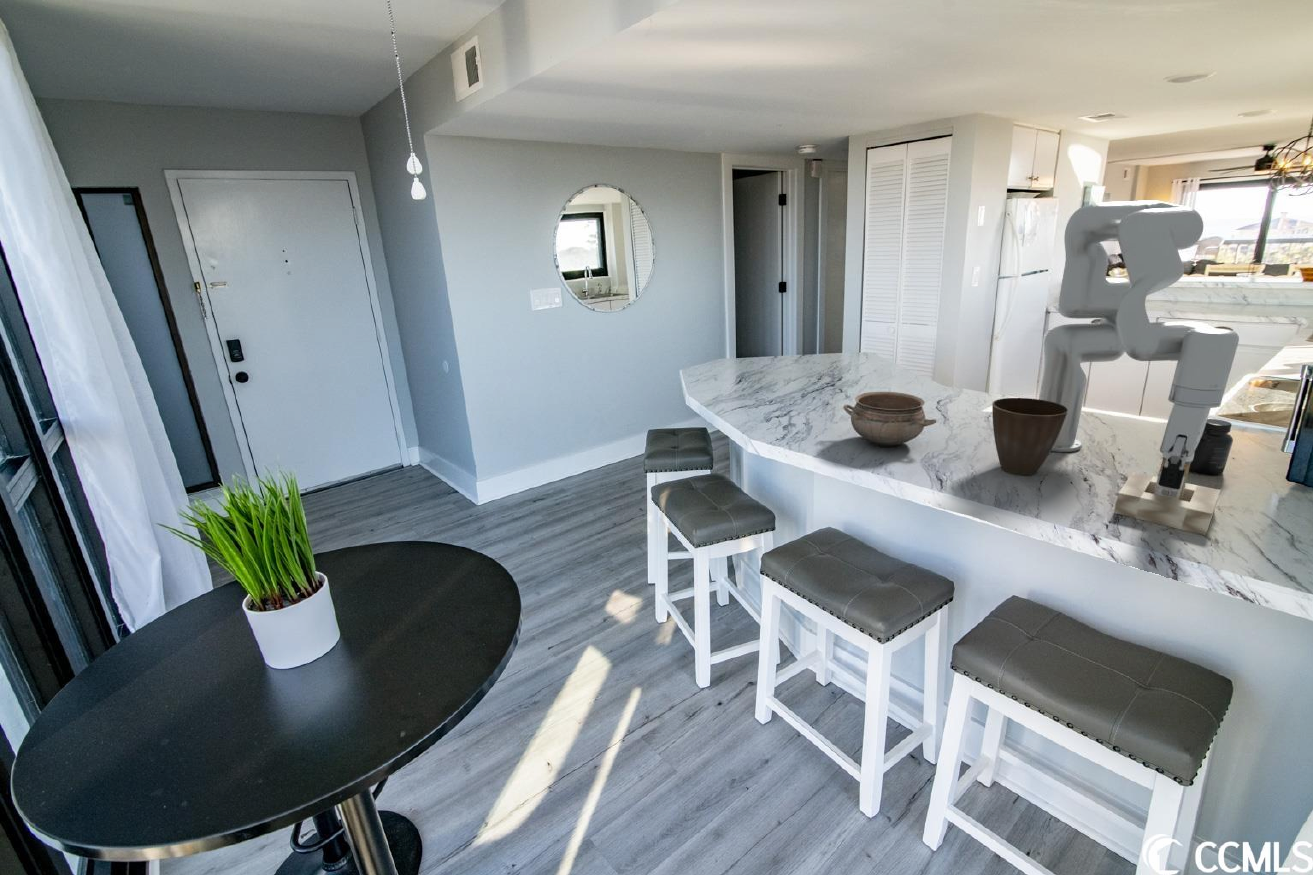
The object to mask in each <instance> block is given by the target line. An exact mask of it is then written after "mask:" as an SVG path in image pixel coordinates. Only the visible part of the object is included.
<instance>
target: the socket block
mask: <svg viewBox="0 0 1313 875" xmlns="http://www.w3.org/2000/svg"><path fill="white" fill-rule="evenodd" d="M1157 478H1158V476H1153V475H1148V474H1143V473H1138V472H1135V471H1134V472H1133V471H1132V472H1131V474H1130V476H1129V477H1128V479H1126V481H1125V482H1124V484H1123V485H1122V487H1121V489H1120V490H1119V491H1118V494H1117V498H1116V502H1115V505H1114V511H1113V514H1117V515H1121V516H1124V517H1125V516H1126V517H1129V518H1133V519H1137V520H1142V521H1146V522H1150V523H1154V524H1158V525H1161V526H1166V527H1170V528H1174V529H1179V530H1181V531H1185V532H1190V533H1193V534H1194V533H1195V534H1198V535H1202V536H1206V535H1207V533H1208V530H1209V527H1210V523H1211V521H1212V518H1213V515H1214V512H1215V510H1216V506H1217V502H1218V500H1219V496H1220V493H1221V489H1217V488H1212V487H1209V486H1202V485H1198V484H1192V483H1187V482H1186V483H1185V489H1184V493H1183V496H1182V499H1181V500H1178V499H1174V498H1169V497H1164V496H1160V495H1155V494H1154V490H1155V486H1156V482H1157Z"/></svg>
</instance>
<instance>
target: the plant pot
mask: <svg viewBox="0 0 1313 875" xmlns="http://www.w3.org/2000/svg"><path fill="white" fill-rule="evenodd" d="M991 407H992V412H991V413H992V427H993V429H992V430H993V437H994V443H995V448H996V452H997V456H998V458H997V459H998V461H999V464H1000V468H1001V470H1003V471H1004V472H1006V473H1008V474H1012V475H1015V476H1033V475H1036V474H1037V473H1038V472H1039V470H1040V469H1041V467H1042V466H1043V464H1044V463H1045V461H1046V460H1047V458H1048V456H1049V455H1050V453H1051V452H1052V451H1051V449H1052V447H1053V446H1054V444H1055V442H1056V440H1057V437H1058V435H1059V433H1060V430H1061V428H1062V425H1063V423H1064V420H1065V418H1066V415H1067V412H1068V409H1067V408H1066V407H1065V406H1063V405H1060V404H1058V403H1054V402H1050V401H1045V400H1039V398H1038V399H1037V398H1028V397H1027V398H1026V397H1006V398H999V399H996V400H993V402H992V406H991Z"/></svg>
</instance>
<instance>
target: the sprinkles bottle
mask: <svg viewBox="0 0 1313 875" xmlns="http://www.w3.org/2000/svg"><path fill="white" fill-rule="evenodd" d="M1169 450H1170V449H1169ZM1169 450H1168V451H1167V452H1163V453H1162V461H1161V465H1160V469H1159V471H1158V474H1157V477H1158V478H1157V482H1156V486H1155V490H1154V494H1155V495H1160V496H1164V497H1169V498H1174V499H1178V500H1181V499H1182V496H1183V493H1184V489H1185V483H1187V480H1188V476H1189V472H1190V471H1189V468H1190V464H1191V461H1193V458H1194V453H1193V455H1192V456H1191V457H1187V459H1186V462H1185V465H1184V468H1183V470H1185V472H1184V475H1183V479H1182V483H1181V486H1180V489H1173V488H1168V487H1163V486H1160V485H1159V484H1158V483H1159V480H1160V476H1161V472H1162V468H1163V466H1164V465H1165V462H1166V459H1167V456H1168V452H1169ZM1172 451H1173V450H1172ZM1182 453H1183V454H1185V453H1186V452H1182ZM1180 459H1181V461H1182V459H1183V458H1180Z"/></svg>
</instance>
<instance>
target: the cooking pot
mask: <svg viewBox="0 0 1313 875" xmlns="http://www.w3.org/2000/svg"><path fill="white" fill-rule="evenodd" d="M854 400H855V404H854V406H852V405H849V404H844V406H843V410H844V411H845V413H847V414H848V415H849V416H850V423H851V426H852V428H853V430H854V431H855V432H856V433H857V434H858V435H859V436H860V437H862V438H863V439H865V440H866V441H868V442H871V443H872V444H873V445H875V446H878V447H884V448H892V447H897V446H898V445H902V444H904V443H907V442H910V441H912V440H914V439H916V438H917V437H918V436H920V434H922V432H923V431H924V428H925V427H929V426H931V425H934V424H936V423H937V422H938V420H937V419H936V418H935V419H934V418H932V419H927V418H926V415H925V411H924V408H923V406H924V405H925V402H926V401H924V399H923V398H921V397H919V396H917V395H913V394H909V393H904V392H897V391H895V392H894V391H871V392H864V393H861V394H858V395H856V396H855V398H854Z"/></svg>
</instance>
